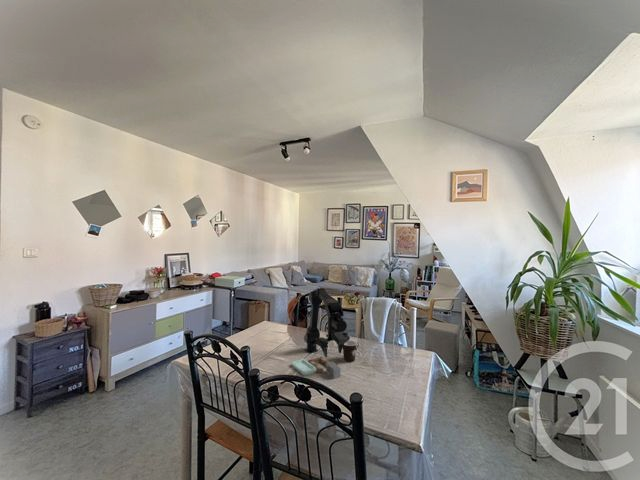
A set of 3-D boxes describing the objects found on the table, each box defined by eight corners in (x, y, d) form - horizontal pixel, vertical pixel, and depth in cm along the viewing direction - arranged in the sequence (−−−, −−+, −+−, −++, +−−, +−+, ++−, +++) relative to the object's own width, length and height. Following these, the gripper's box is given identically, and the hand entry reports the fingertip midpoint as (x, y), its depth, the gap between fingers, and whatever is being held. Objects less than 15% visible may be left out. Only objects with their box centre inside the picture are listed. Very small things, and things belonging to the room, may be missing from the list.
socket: (307, 363, 159) (307, 360, 159) (321, 359, 164) (321, 356, 164) (320, 372, 149) (320, 369, 149) (334, 368, 154) (334, 364, 154)
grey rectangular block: (326, 372, 150) (326, 363, 149) (332, 370, 151) (332, 361, 151) (333, 379, 142) (333, 369, 142) (340, 377, 144) (340, 367, 144)
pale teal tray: (291, 365, 157) (291, 362, 157) (303, 362, 161) (303, 358, 161) (304, 375, 145) (304, 372, 145) (317, 371, 150) (317, 368, 150)
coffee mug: (345, 363, 159) (345, 346, 159) (340, 357, 168) (340, 340, 168) (363, 361, 163) (363, 344, 162) (357, 355, 171) (358, 339, 171)
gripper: (327, 333, 135) (327, 365, 135) (356, 326, 146) (356, 356, 146) (315, 327, 144) (315, 357, 144) (343, 321, 155) (343, 349, 155)
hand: (333, 355), depth 147 cm, fingers open, 9 cm apart
